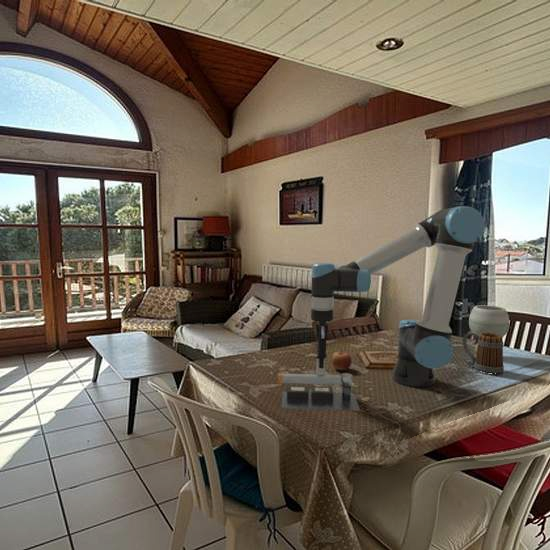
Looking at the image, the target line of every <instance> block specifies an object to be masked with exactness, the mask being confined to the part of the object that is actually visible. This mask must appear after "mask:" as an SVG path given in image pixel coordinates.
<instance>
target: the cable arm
mask: <svg viewBox="0 0 550 550" xmlns="http://www.w3.org/2000/svg"><path fill="white" fill-rule="evenodd" d="M277 384H300V385H301V384H304V385H305V384H308V385H309V384H310V385H313V384H314V385H338V386H339V385H341V386H345V387H350V386H351V387H352V386H353V374H351V373H348V372H344V373H341V374H325V375H320V374H317V373H316V374H313V373H310V374H308V373H307V374H306V373H283V372H277Z"/></svg>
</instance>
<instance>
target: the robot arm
mask: <svg viewBox="0 0 550 550" xmlns="http://www.w3.org/2000/svg"><path fill="white" fill-rule="evenodd" d="M485 226H486V225H485V220H484V217H483V216H482V214H481V212H480V211H479V210H477V209H476V208H475V207H472V206H467V205H466V206H463V205H458V206H455V207H449V208H444V209H440V210H438V211H436V212H435V213H433V214H432V215H430V216H428V217H427V218H425V219H423V220H422V221H420V222H417V224H415V227H414V228H413V229H411V230H409V231H407V232H405V233H404V234H402V235H400V236H398V237H397V238H396V237H395V238H394V239H392V240H390V241H389V242H387V243H385V244H383V245H381V246H380V247H378V248H376V249H374V250H372V251H370V252H368V253H366V254H364V255H363V256H361V257H359V258H357V259H355V260H353V261H352V262H349V263H347V264H346V265H341V266H339V267H338V268H335V264H334V263H330V262H329V263H328V262H316V263H314V264H313V265H312V269H311V270H312V271H311V298H310V299H309V302H311V309H310V319H311V320H312V321H313V322H317V324H315V332H316V334H315V335H316V356H315V360H316V374H320V375H326V358H327V356H328V355H327V340H328V332H329V326H328V324H327V323H330V322H332V321H333V320H334V310H333V309H334V307H335V296H334V295H335V293H336V292H337V293H338V292H345V293H346V292H347V293H351V292H352V293H353V292H354V293H364V292H368V291H370V289H371V285H372V278H371V277H372V276H371V275H373V274H375V273H378V272H379V271H381V270H383V269H386V268H388V267H389V266H392V264H395V263H397V262H398V261H400V260H402V259H404V258H406V257H408V256H410V255H411V254H414V253H416V252H418V251H419V250H421V249H423V248H427V249H428V248H431V247H433V246H435V247H436V249H437V255H436V258H435V261H434V262H435V263H434V267H433V271H432V275H431V279H430V284H429V288H428V292H427V297H426V301H425V304H424V310H423V313H422V317H421V318H420V319H402V320H400V321H399V327H398V347H397V348H398V350H397V360H396V362H395V364H394V367H393V370H392V379H393V380H394V382H396V383H398V384H401V385H403V386H408V387H415V388H426V387H431V386H433V385H434V384H435V383H436V381H435V380H436V378H435V373H434V369H440V368H443V367H445V366H446V365H448V364H449V363H450V361H451V360H452V358H453V356H454V348H453V344H452V342H451V337H452V335H453V330H452V329H451V327H450V321H451V317H452V313H453V308H454V304H455V300H456V298H457V297H456V296H457V292H458V289H459V284H460V281H461V277H462V274H463V269H464V265H465V261H466V257H467V255H468V254H470V253H471V252H473V249H474V245H475V242H476V241H478V239H480V238H481V236H482V235H483V234H484V231H485Z"/></svg>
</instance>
